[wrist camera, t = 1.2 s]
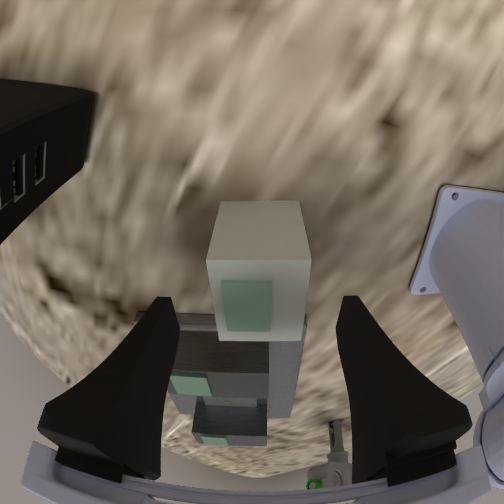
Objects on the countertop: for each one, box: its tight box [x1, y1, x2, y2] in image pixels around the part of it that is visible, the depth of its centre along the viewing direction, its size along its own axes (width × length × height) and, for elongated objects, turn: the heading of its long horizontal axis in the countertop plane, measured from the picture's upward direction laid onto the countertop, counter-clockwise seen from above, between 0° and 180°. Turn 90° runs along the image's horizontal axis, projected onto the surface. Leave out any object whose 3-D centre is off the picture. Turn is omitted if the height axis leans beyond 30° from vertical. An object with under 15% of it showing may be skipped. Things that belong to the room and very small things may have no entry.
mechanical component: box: [306, 420, 352, 490], centre depth 28 cm, size 3×10×10 cm, turn 49°
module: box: [206, 201, 312, 341], centre depth 15 cm, size 4×5×5 cm
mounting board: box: [134, 311, 307, 446], centre depth 23 cm, size 12×16×5 cm
